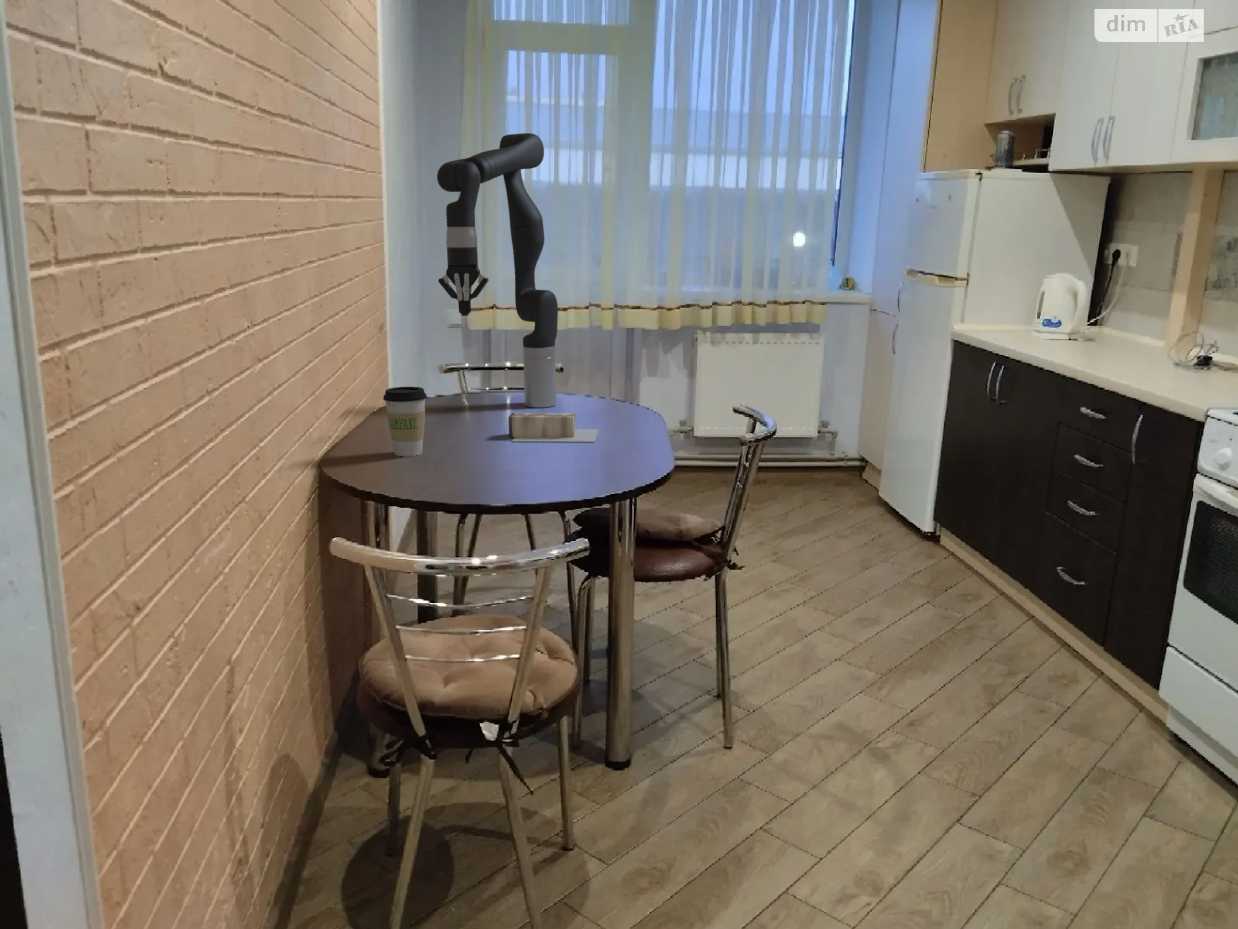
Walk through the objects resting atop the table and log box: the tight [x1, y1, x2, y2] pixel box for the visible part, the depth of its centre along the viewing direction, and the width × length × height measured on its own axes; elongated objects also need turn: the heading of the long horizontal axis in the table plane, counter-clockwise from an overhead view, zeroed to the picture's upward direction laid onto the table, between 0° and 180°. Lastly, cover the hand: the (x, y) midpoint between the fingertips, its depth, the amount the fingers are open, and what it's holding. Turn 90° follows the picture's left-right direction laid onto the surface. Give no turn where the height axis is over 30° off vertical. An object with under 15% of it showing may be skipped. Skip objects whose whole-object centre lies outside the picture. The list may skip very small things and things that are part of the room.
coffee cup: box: [382, 386, 428, 458], centre depth 224 cm, size 10×10×15 cm
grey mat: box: [511, 428, 600, 444], centre depth 243 cm, size 14×20×1 cm
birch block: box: [508, 412, 577, 438], centre depth 243 cm, size 5×5×16 cm
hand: (465, 315), depth 247 cm, fingers closed
